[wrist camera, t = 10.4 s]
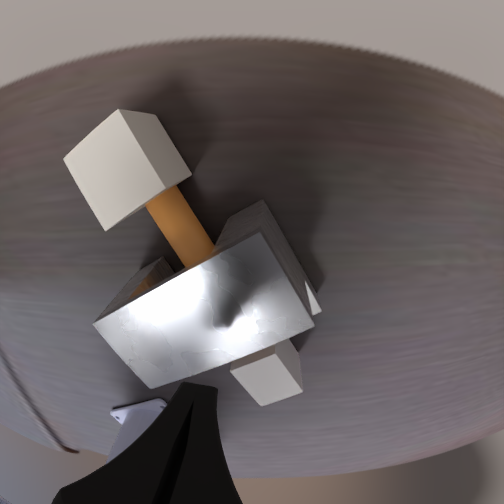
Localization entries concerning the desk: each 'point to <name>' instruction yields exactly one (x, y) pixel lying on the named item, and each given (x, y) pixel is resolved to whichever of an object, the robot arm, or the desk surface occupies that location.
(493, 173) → the desk surface
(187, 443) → the robot arm
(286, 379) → the plug
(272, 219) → the housing
